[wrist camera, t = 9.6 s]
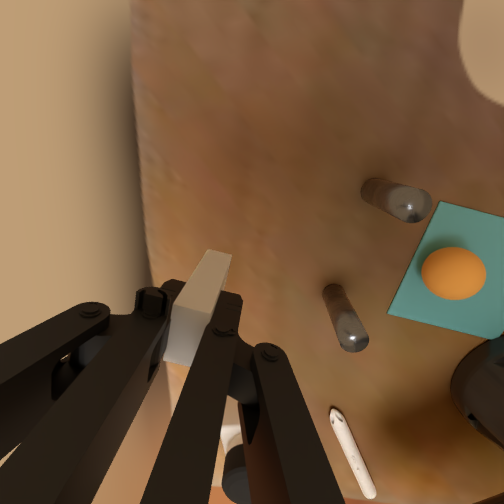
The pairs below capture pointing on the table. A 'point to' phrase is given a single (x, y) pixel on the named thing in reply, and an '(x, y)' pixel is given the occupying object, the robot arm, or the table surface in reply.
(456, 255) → the ball
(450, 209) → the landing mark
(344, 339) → the post
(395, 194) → the post
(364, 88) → the table surface
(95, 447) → the robot arm
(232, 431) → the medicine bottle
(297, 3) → the table surface
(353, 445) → the marker
